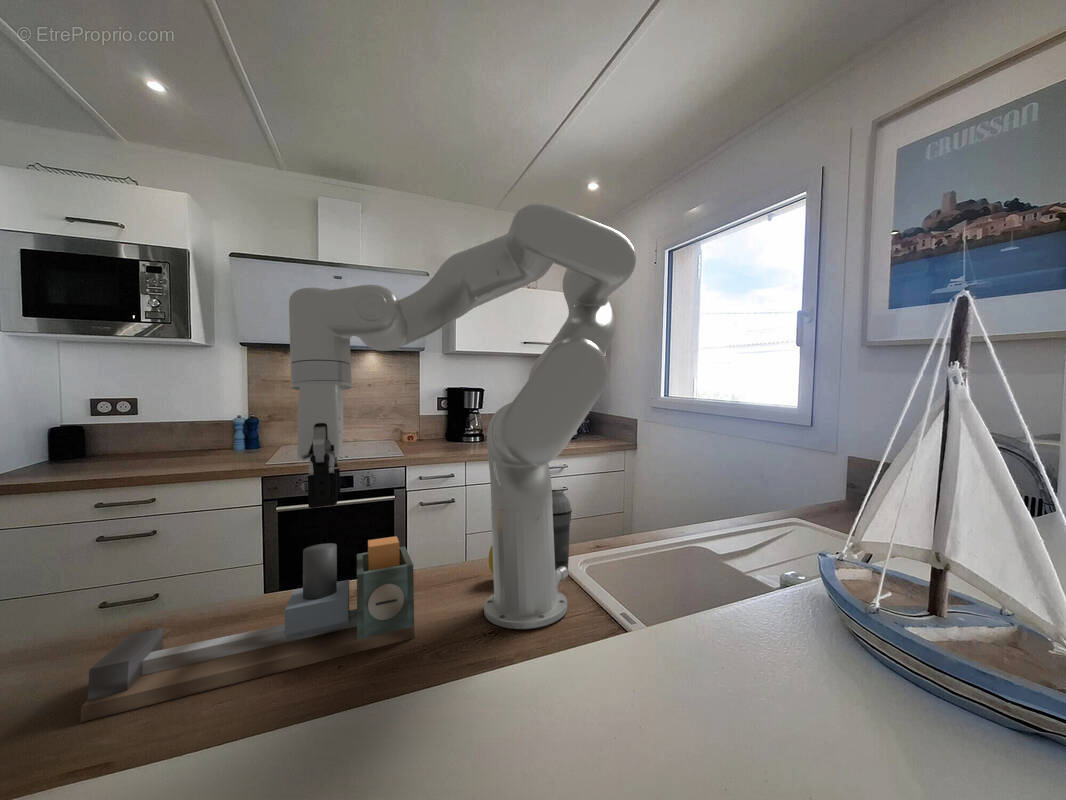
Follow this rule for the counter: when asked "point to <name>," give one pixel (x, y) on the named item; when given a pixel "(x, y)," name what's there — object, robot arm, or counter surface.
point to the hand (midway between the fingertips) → (326, 500)
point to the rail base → (235, 670)
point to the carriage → (318, 595)
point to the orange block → (383, 553)
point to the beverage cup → (561, 528)
